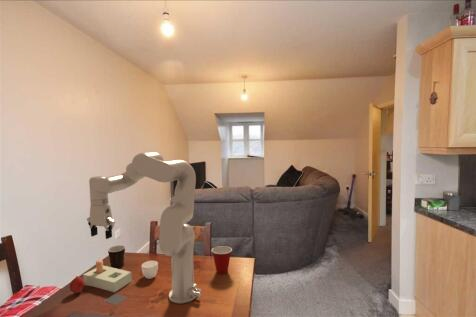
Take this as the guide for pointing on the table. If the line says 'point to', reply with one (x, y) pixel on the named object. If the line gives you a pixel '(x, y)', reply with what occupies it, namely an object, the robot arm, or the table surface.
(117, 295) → the mat
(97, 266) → the peg
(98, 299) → the table surface
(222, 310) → the table surface
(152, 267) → the cup
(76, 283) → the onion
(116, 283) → the socket block
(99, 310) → the table surface
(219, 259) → the plastic cup
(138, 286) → the table surface
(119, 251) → the coffee mug
